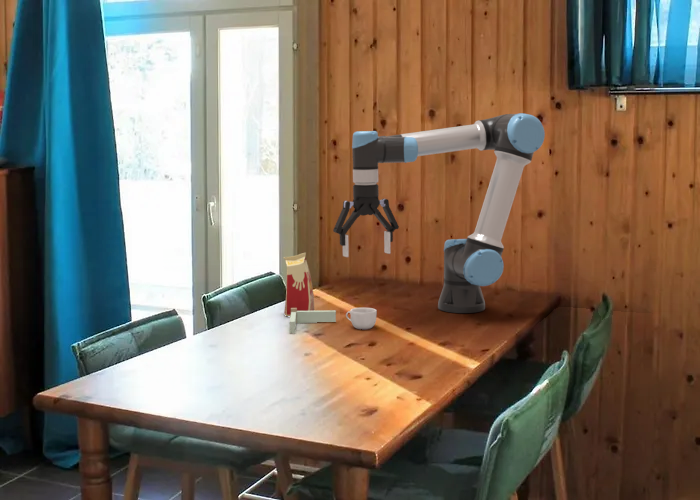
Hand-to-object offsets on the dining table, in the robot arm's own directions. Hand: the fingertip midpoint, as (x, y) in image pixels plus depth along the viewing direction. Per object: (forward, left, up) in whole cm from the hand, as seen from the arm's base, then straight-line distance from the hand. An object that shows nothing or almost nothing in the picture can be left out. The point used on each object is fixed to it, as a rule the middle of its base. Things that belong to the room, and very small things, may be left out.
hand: (366, 254), depth 268 cm
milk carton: (+21, -15, -21) cm, 34 cm away
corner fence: (+16, +4, -21) cm, 27 cm away
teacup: (+2, +4, -21) cm, 22 cm away
